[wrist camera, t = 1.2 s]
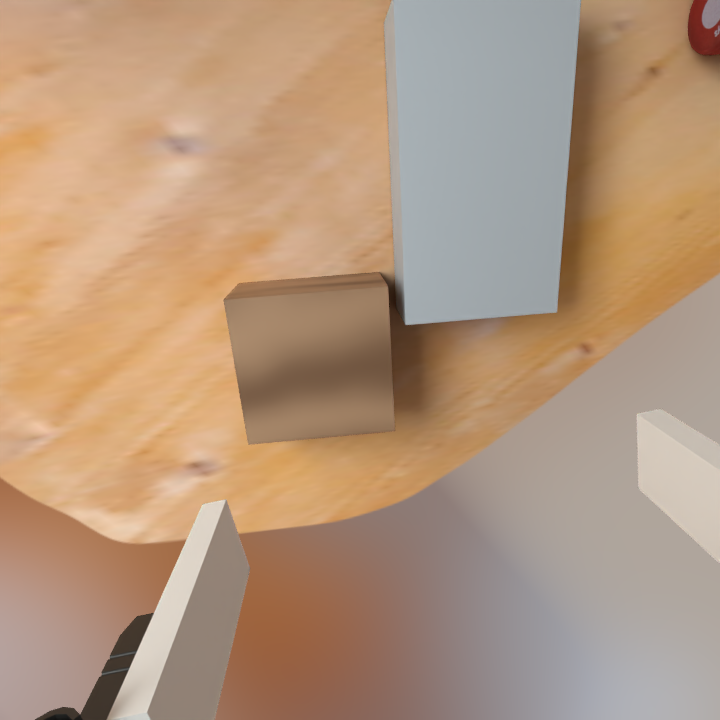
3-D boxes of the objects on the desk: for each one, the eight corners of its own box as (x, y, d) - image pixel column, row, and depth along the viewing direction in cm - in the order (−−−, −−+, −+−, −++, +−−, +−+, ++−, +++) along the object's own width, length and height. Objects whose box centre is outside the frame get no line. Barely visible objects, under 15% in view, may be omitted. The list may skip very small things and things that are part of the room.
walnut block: (239, 282, 30) (223, 299, 26) (378, 271, 31) (388, 286, 26) (259, 408, 34) (248, 444, 29) (385, 397, 34) (395, 430, 29)
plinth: (383, 23, 26) (393, -5, 22) (545, 13, 26) (582, -16, 22) (396, 308, 31) (405, 325, 28) (529, 297, 32) (556, 312, 28)
